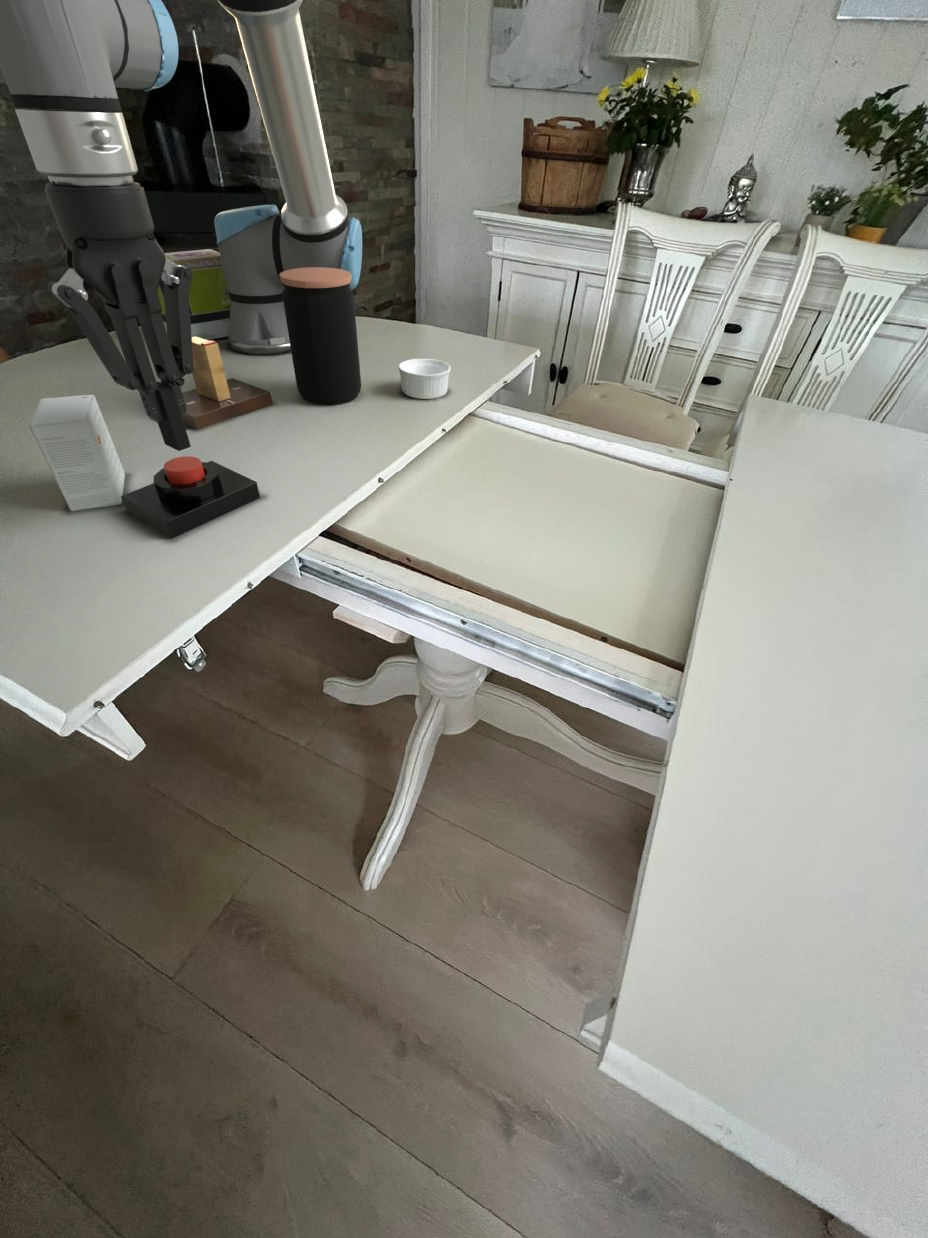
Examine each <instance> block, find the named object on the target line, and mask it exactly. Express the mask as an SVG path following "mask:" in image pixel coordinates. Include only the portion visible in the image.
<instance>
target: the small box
mask: <svg viewBox="0 0 928 1238" xmlns="http://www.w3.org/2000/svg"><path fill="white" fill-rule="evenodd" d="M28 427H29V429H30V431H31V433H32V435H33V437H34V439H35V440H36V443H37V445H38V447H39V449H40V451H41V454H42V455H43V457H44V459H45V461H46V463H47V465H48V467H49V469H50V472H51V474H52V475H53V477H54V480H55V482H56V484H57V486H58V488H59V490H60V492H61V494H62V496H63V498H64V500H65V502H66V505H67V506H68V509H69V510H70V512H75V511H83V510H91V509H98V508H104V507H105V508H106V507H111V506H118V505H122V504H123V501H122V498H121V496H122V495H124V486H125V476H126V473H125V470H124V467H123V465H122V463H121V460H120V458H119V455H118V452H117V450H116V447H115V445H114V442H113V439H112V437H111V434H110V432H109V429H108V427H107V424H106V422H105V419H104V417H103V414H102V412H101V409H100V406H99V403H98V401H97V399H96V396H95V395H94V394H83V395H69V396H56V397H45V398H44V397H43V398H40V399H39V402H38V404H37V407H36V409H35V411H34V414H33V415H32V417H31V420H30V422H29V425H28Z"/></svg>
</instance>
